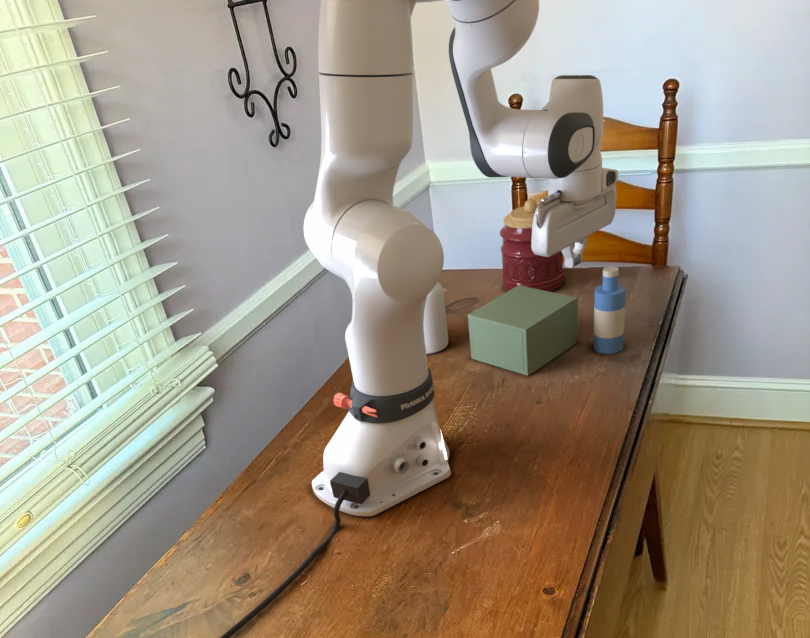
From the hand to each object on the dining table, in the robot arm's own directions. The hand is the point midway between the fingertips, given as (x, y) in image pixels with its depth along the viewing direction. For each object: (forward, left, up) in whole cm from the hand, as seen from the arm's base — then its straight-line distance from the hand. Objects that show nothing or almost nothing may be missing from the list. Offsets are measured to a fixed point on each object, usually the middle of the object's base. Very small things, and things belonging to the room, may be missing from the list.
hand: (573, 265), depth 140 cm
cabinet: (-10, +4, -13) cm, 17 cm away
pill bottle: (-18, +21, -13) cm, 31 cm away
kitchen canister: (+15, +21, -13) cm, 29 cm away
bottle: (-2, -9, -13) cm, 16 cm away
